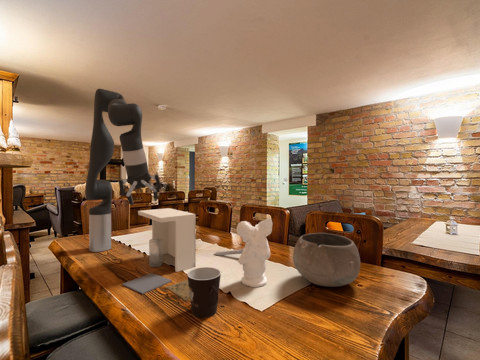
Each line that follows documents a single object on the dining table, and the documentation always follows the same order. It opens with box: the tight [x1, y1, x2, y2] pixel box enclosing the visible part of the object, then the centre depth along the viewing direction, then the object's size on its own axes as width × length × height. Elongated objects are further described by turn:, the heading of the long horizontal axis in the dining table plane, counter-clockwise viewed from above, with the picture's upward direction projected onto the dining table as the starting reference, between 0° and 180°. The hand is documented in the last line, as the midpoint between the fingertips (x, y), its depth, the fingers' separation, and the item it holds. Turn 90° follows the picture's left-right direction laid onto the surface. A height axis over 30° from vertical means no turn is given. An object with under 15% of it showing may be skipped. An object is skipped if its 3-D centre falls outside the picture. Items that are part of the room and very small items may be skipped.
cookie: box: [164, 278, 190, 301], centre depth 78 cm, size 12×12×1 cm
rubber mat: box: [121, 272, 173, 295], centre depth 81 cm, size 11×11×1 cm
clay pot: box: [292, 232, 361, 288], centre depth 81 cm, size 21×21×15 cm
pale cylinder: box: [148, 238, 164, 268], centre depth 98 cm, size 5×5×10 cm
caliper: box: [213, 248, 244, 256], centre depth 107 cm, size 20×1×6 cm, turn 69°
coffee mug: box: [186, 266, 222, 319], centre depth 62 cm, size 12×9×10 cm
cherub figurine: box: [236, 216, 274, 288], centre depth 84 cm, size 12×12×22 cm
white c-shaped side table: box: [137, 207, 197, 273], centre depth 100 cm, size 24×14×21 cm, turn 40°
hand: (144, 202), depth 94 cm, fingers open, 8 cm apart
